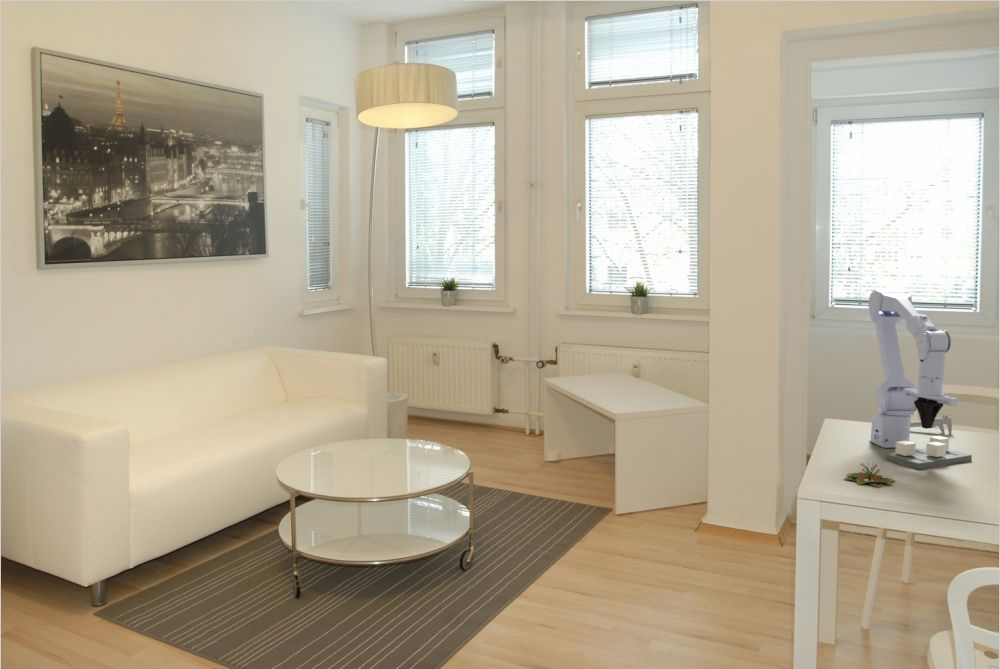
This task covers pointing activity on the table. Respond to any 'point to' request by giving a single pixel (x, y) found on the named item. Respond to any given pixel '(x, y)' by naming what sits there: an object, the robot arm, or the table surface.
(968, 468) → the table surface
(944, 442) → the tab
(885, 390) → the robot arm
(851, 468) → the table surface
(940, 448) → the tab
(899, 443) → the light grey block
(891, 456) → the switch panel
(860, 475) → the lily flower
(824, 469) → the table surface
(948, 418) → the caliper
